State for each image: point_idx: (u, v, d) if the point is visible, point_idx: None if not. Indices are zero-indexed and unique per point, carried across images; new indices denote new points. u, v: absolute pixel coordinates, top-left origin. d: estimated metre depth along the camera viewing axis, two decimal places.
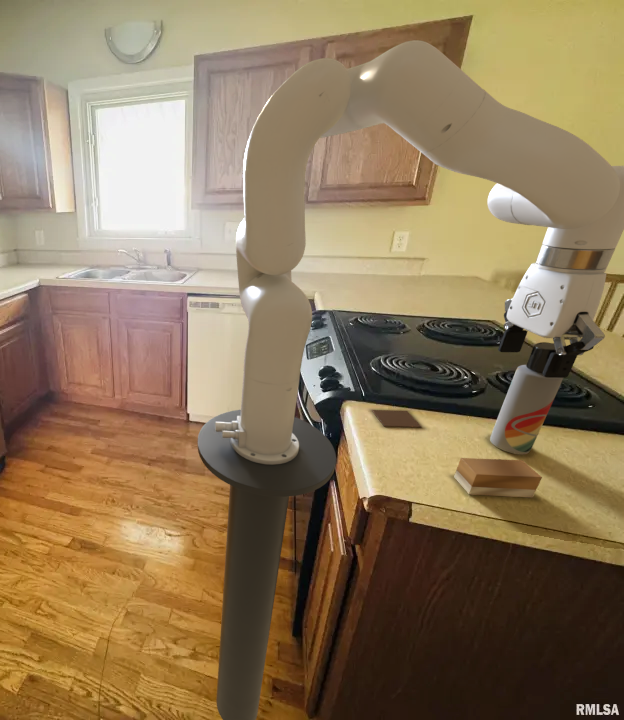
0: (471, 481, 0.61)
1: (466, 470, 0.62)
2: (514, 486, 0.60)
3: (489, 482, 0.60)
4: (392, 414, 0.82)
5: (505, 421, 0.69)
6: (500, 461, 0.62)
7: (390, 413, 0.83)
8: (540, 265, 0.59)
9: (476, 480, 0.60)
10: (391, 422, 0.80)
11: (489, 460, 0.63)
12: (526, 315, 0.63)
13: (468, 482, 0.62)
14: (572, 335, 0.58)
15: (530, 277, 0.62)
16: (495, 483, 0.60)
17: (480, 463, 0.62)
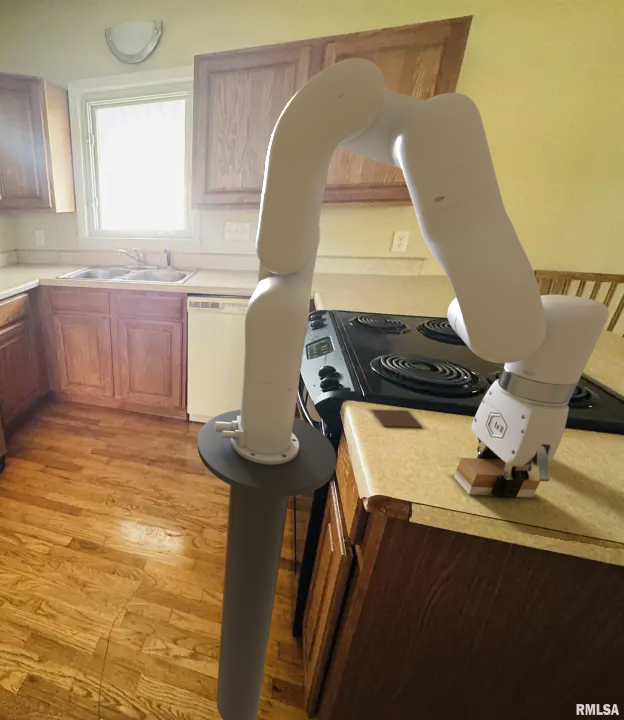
0: (471, 481, 0.61)
1: (466, 470, 0.62)
2: None
3: (489, 482, 0.60)
4: (392, 414, 0.82)
5: None
6: (500, 461, 0.62)
7: (390, 413, 0.83)
8: (502, 388, 0.56)
9: (476, 480, 0.60)
10: (391, 422, 0.80)
11: (489, 460, 0.63)
12: (489, 434, 0.60)
13: (468, 482, 0.62)
14: (525, 464, 0.57)
15: (493, 395, 0.59)
16: None
17: (480, 463, 0.62)
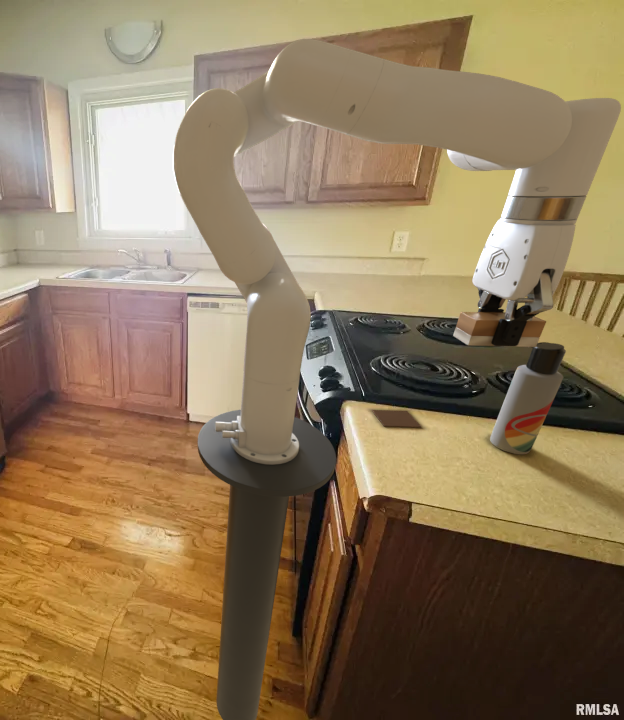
0: (471, 330, 0.58)
1: (466, 321, 0.59)
2: None
3: (490, 329, 0.57)
4: (392, 414, 0.82)
5: (505, 421, 0.69)
6: (502, 313, 0.59)
7: (390, 413, 0.83)
8: (504, 218, 0.53)
9: (476, 327, 0.57)
10: (391, 422, 0.80)
11: (490, 312, 0.60)
12: (490, 277, 0.57)
13: (467, 333, 0.59)
14: (528, 300, 0.54)
15: (496, 234, 0.56)
16: None
17: (481, 314, 0.59)
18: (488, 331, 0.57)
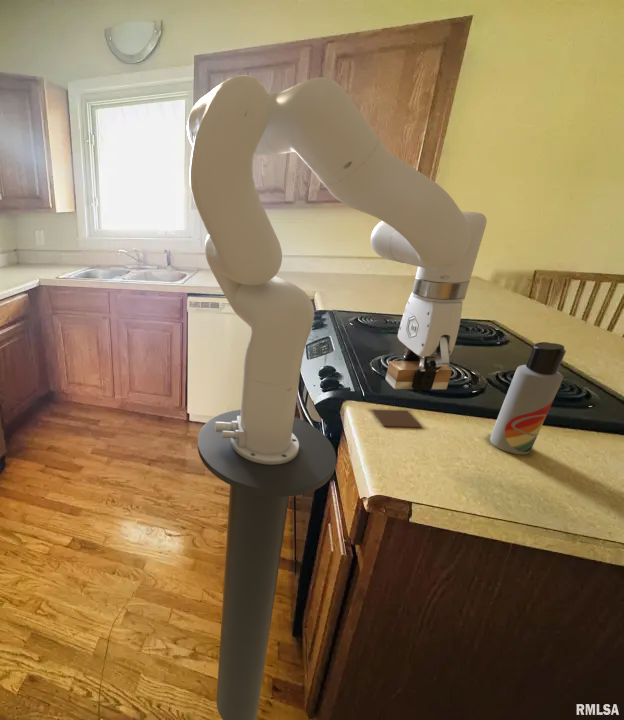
0: (395, 377, 0.73)
1: (392, 369, 0.74)
2: None
3: (409, 377, 0.73)
4: (392, 414, 0.82)
5: (505, 421, 0.69)
6: None
7: (390, 413, 0.83)
8: (414, 294, 0.68)
9: (399, 375, 0.73)
10: (391, 422, 0.80)
11: (412, 361, 0.75)
12: (408, 336, 0.72)
13: (393, 379, 0.74)
14: (435, 356, 0.69)
15: (410, 303, 0.71)
16: None
17: (404, 363, 0.74)
18: (408, 378, 0.73)
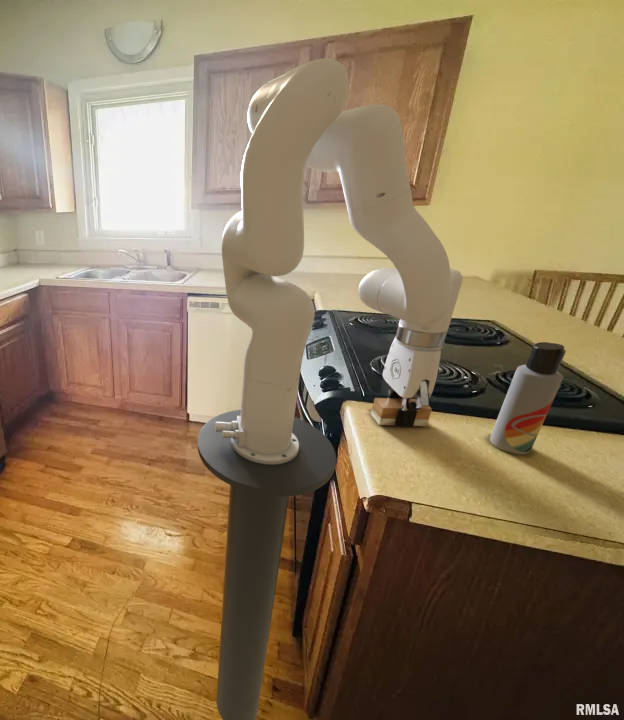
0: (380, 414, 0.79)
1: (377, 406, 0.80)
2: None
3: (393, 414, 0.78)
4: None
5: (505, 421, 0.69)
6: None
7: None
8: (397, 340, 0.74)
9: (383, 413, 0.78)
10: None
11: (396, 399, 0.80)
12: (391, 377, 0.77)
13: (378, 416, 0.79)
14: (416, 397, 0.74)
15: (394, 346, 0.77)
16: None
17: (388, 401, 0.80)
18: (392, 415, 0.78)
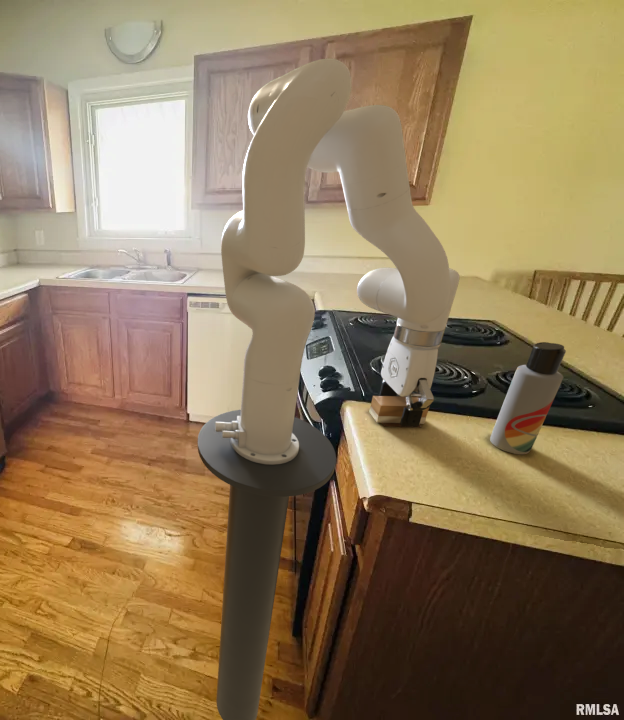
0: (378, 412, 0.79)
1: (375, 404, 0.80)
2: None
3: (391, 412, 0.79)
4: None
5: (505, 421, 0.69)
6: (402, 397, 0.81)
7: None
8: (394, 338, 0.74)
9: (381, 410, 0.79)
10: None
11: (393, 397, 0.81)
12: (389, 375, 0.78)
13: (376, 413, 0.80)
14: (418, 394, 0.74)
15: (392, 345, 0.77)
16: (395, 412, 0.79)
17: (386, 398, 0.80)
18: (390, 413, 0.79)
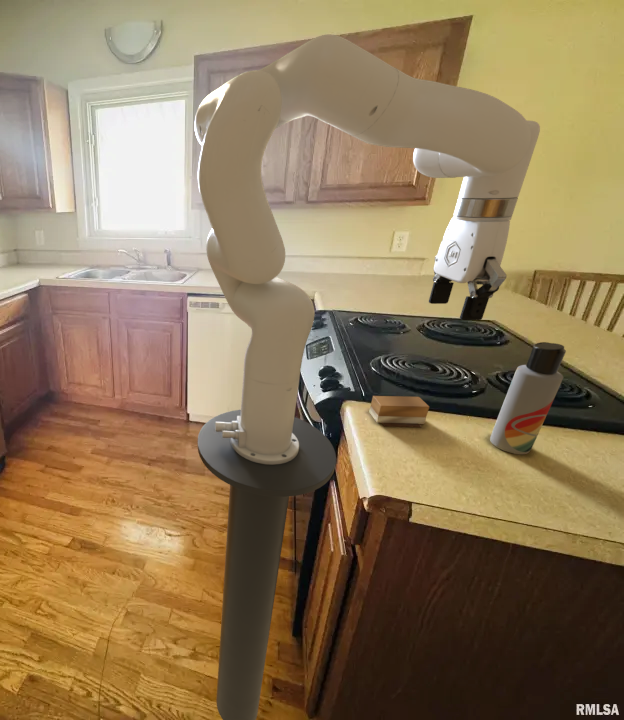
0: (378, 412, 0.79)
1: (375, 404, 0.80)
2: (409, 414, 0.78)
3: (391, 412, 0.79)
4: None
5: (505, 421, 0.69)
6: (402, 397, 0.81)
7: None
8: (456, 216, 0.65)
9: (381, 410, 0.79)
10: None
11: (393, 397, 0.81)
12: (446, 265, 0.68)
13: (376, 413, 0.80)
14: (483, 279, 0.64)
15: (450, 229, 0.68)
16: (395, 412, 0.79)
17: (386, 398, 0.80)
18: (390, 413, 0.79)
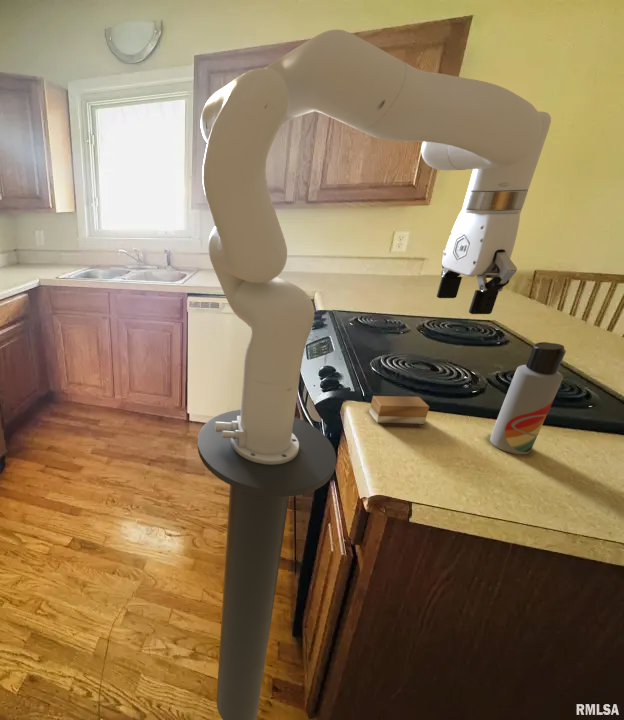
0: (378, 412, 0.79)
1: (375, 404, 0.80)
2: (409, 414, 0.78)
3: (391, 412, 0.79)
4: None
5: (505, 421, 0.69)
6: (402, 397, 0.81)
7: None
8: (465, 209, 0.64)
9: (381, 410, 0.79)
10: None
11: (393, 397, 0.81)
12: (455, 259, 0.68)
13: (376, 413, 0.80)
14: (493, 273, 0.63)
15: (459, 223, 0.67)
16: (395, 412, 0.79)
17: (386, 398, 0.80)
18: (390, 413, 0.79)
